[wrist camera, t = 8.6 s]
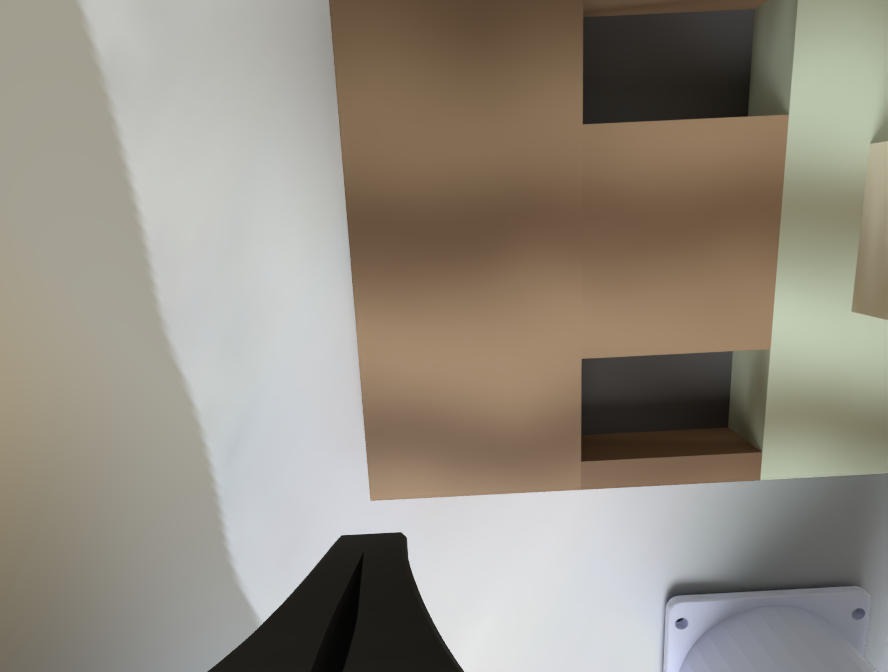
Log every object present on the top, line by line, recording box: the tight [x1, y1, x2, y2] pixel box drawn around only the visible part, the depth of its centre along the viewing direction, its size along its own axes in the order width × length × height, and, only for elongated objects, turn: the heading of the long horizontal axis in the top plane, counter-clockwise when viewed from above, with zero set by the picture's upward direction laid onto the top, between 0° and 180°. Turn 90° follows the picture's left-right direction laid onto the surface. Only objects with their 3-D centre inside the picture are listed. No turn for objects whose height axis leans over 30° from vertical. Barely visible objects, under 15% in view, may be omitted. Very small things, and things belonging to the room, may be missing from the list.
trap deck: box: [329, 0, 888, 501], centre depth 18 cm, size 16×20×2 cm
